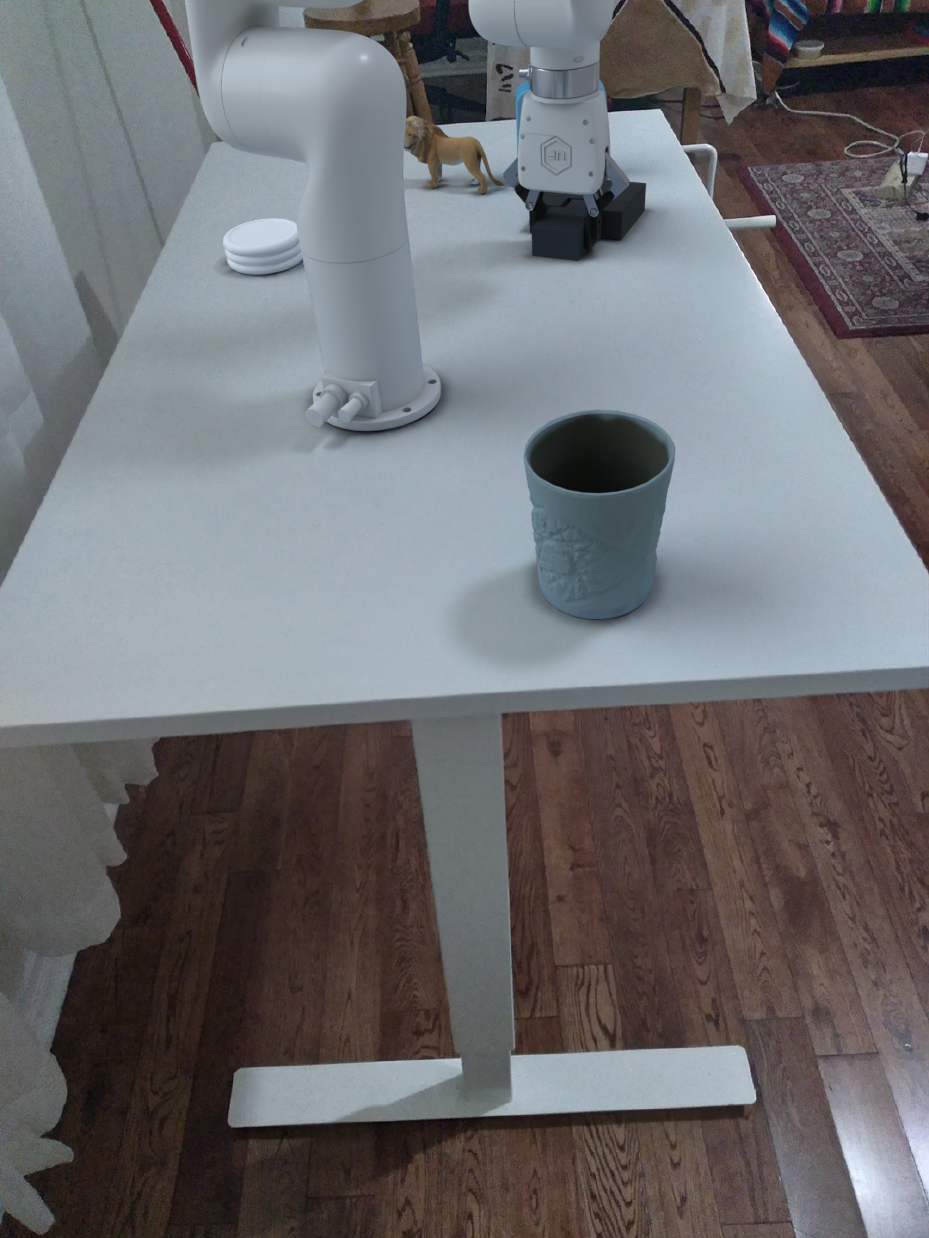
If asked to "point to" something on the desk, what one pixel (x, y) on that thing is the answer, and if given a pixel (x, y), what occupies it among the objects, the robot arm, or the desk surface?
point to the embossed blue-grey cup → (598, 509)
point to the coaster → (263, 246)
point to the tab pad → (561, 232)
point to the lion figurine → (445, 151)
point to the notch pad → (610, 208)
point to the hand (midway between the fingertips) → (565, 241)
